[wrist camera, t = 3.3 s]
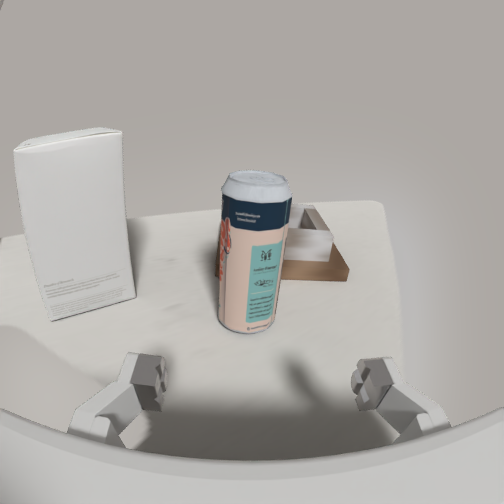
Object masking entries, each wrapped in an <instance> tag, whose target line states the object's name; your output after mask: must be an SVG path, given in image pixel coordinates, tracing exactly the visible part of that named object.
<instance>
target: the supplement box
mask: <svg viewBox="0 0 504 504" xmlns="http://www.w3.org/2000/svg"><path fill="white" fill-rule="evenodd" d="M13 153H14V166H15V175H16V184H17V192H18V199H19V205H20V211H21V217H22V222H23V227H24V232H25V237H26V241H27V245H28V250H29V254H30V258H31V262H32V265H33V269H34V273H35V276H36V280H37V283H38V286H39V289H40V293H41V296H42V299H43V302H44V305H45V308H46V310H47V313H48V316H49V319H50V321H54V320H57V319H61V318H65V317H68V316H72V315H75V314H79V313H83V312H86V311H90V310H93V309H97V308H101V307H104V306H108V305H111V304H115V303H118V302H122V301H125V300H129V299H133V298H136V292H135V286H134V280H133V273H132V265H131V258H130V249H129V240H128V230H127V219H126V206H125V191H124V170H123V132H122V131H118V130H114V129H109V128H105V127H101V128H90V129H84V130H78V131H71V132H65V133H60V134H54V135H48V136H43V137H37V138H33V139H29V140H26V141H24V142H23V143H21V144H19V146H18V147H17V148H15V149H14V152H13Z"/></svg>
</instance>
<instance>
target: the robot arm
mask: <svg viewBox="0 0 504 504" xmlns="http://www.w3.org/2000/svg"><path fill="white" fill-rule="evenodd" d="M3 1H4V0H0V9H1V7H2V5H3ZM164 365H165V360H164V357H161V356H154V355H146V354H139V353H132V352H128V353H127V355H126V357H125V360H124V362H123V365H122V368H121V371H120V374H119V377H118V380H117V381H113V382H112V383H110V384H109V385H108V386H106V387H105V388H104V389H102V390H101V391H100V392H98V393H97V394H96V395H94V396H93V397H92V398H90V399H89V400H87V401H86V402H85V403H83V404H82V405H81V406H79V407H78V408H77V409H76V410H75V412H74V415H73V417H72V420H71V423H70V426H69V428H68V431H67V433H64V432H61V431H58V430H55V429H52V428H50V427H47V426H44V425H41V424H39V423H36V422H33V421H31V420H28V419H26V418H23V417H21V416H18V415H16V414H14V413H11V412H9V411H7V410H4V409H0V504H504V407H501V408H498V409H496V410H493V411H491V412H489V413H487V414H485V415H482V416H480V417H477V418H475V419H472V420H470V421H467V422H464V423H462V424H459V425H456V426H454V427H451V425H450V423H449V421H448V418H447V416H446V414H445V412H444V410H443V408H442V407H441V406H440V405H438V404H437V403H435V402H434V401H432V400H431V399H430V398H428V397H427V396H425V395H424V394H423V393H421V392H420V391H418V390H417V389H416V388H414V387H413V386H411V385H410V384H409V383H404V381H403V379H402V377H401V374H400V372H399V370H398V368H397V366H396V364H395V362H394V360H393V358H392V357H382V358H370V359H360V360H359V361H358V363H357V368H358V369H357V370H355V371H354V372H353V374H352V377H351V388H352V391H353V392H354V393H355V394H356V395H357V397H356V399H355V400H356V403H357V406H358V409H359V411H366V410H374V409H376V411H377V412H378V413H379V414H380V415H381V416H382V417H383V418H384V419H385V420H386V421H387V422H388V423H389V424H390V425H391V426H392V427H393V428H394V429H395V430H396V431H397V432H398V433H399V434H400V436H399V437H398V438H397V439H396V440H395V441H394V443H393V444H392V445H387V446H383V447H378V448H373V449H368V450H363V451H357V452H351V453H345V454H338V455H330V456H322V457H313V458H302V459H287V460H260V461H239V460H212V459H198V458H187V457H177V456H169V455H162V454H155V453H149V452H143V451H137V450H132V449H127V448H126V447H125V446H124V444H123V442H122V441H121V439H120V437H119V436H118V435H119V434H120V433H121V432H122V431H123V430H124V429H125V428H126V427H127V426H128V425H129V424H130V423H131V422H132V421H133V420H134V419H135V417H137V416H138V414H139V413H140V412H141V411H142V410H150V411H159V412H162V408H163V403H164V396H163V393H164V392H165V391H166V387H167V370H166V369H165V368H164Z"/></svg>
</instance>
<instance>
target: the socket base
mask: <svg viewBox="0 0 504 504" xmlns="http://www.w3.org/2000/svg"><path fill="white" fill-rule="evenodd" d="M333 238H334V236H333V235H332V233H331V231H330V230H329V228H328V227H327V225H326V224H325V222H324V221H323V219H322V218H321V216H320V215H319V213H318V212H317V210H316V209H315V207H314V206H313V205H303V204H291V209H290V217H289V225H288V232H287V239H286V247H285V254H284V261H283V268H282V275H281V279H289V280H318V281H347V277H348V273H349V268H348V266H347V264H346V263H345V261H344V259H343V258H342V256H341V254H340V253H339V251H338V249H337V248H336V246H335V244H334V243H333ZM220 242H221V230H220V237H219V243H218V250H217V257H216V271H215V276H220Z"/></svg>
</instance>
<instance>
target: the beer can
mask: <svg viewBox="0 0 504 504" xmlns="http://www.w3.org/2000/svg"><path fill="white" fill-rule="evenodd" d="M221 190H222V194H223V195H222V215H221V242H220V276H219V309H218V318H219V320H220V322H221V323H222V324H223V325H224V326H225V327H227V328H228V329H230V330H232V331H235V332H238V333H246V334H253V333H257V332H261V331H264V330H266V329H268V328H269V327H270V326H271V325H272V323H273V322H274V320H275V314H276V308H277V301H278V295H279V288H280V281H281V275H282V268H283V261H284V254H285V247H286V239H287V232H288V225H289V217H290V209H291V201H292V193H291V191H290V188H289V185H288V182H287V179H286V178H285V177H284V176H282V175H278V174H275V173H272V172H265V171H257V170H246V171H245V170H244V171H236V172H232V173H230V174H229V176H228V178H227V180H226V182H225V183H224V185H223V186H222V188H221Z"/></svg>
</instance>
